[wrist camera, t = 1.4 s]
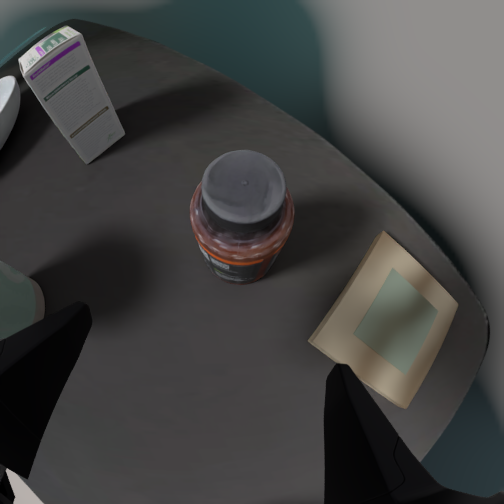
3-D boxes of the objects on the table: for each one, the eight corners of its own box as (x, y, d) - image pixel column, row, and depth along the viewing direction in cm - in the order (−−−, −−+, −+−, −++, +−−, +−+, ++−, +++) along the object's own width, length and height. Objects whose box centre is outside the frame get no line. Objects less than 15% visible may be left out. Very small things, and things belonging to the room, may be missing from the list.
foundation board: (449, 306, 23) (459, 304, 21) (397, 405, 20) (406, 409, 18) (376, 236, 24) (384, 230, 23) (307, 341, 21) (312, 341, 20)
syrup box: (127, 134, 26) (85, 29, 12) (85, 167, 24) (21, 73, 10) (107, 113, 26) (69, 21, 13) (69, 143, 25) (15, 58, 11)
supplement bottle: (270, 216, 24) (298, 133, 13) (277, 283, 22) (320, 240, 12) (202, 220, 23) (183, 137, 13) (205, 288, 22) (180, 249, 11)
